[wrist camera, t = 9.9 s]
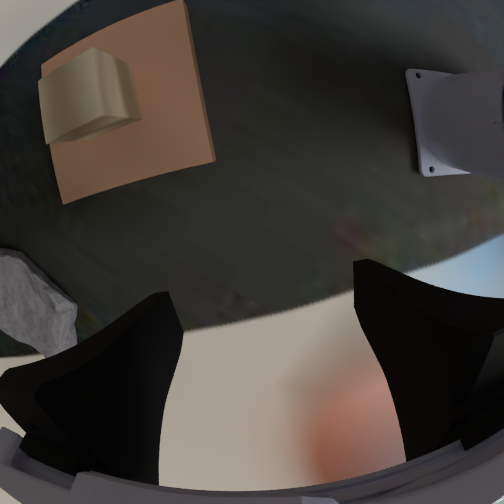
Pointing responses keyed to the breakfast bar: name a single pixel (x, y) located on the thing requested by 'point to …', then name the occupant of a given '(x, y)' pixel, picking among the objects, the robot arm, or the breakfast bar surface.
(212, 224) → the breakfast bar surface
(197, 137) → the terracotta tile
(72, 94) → the birch block
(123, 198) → the breakfast bar surface
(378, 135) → the breakfast bar surface
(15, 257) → the stone block
